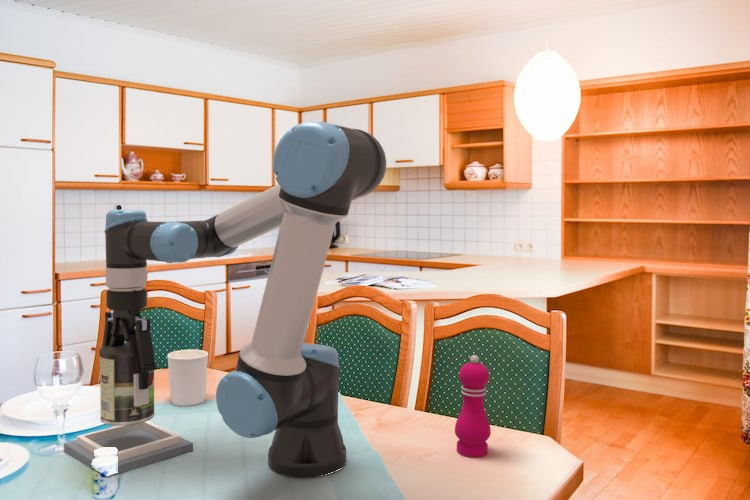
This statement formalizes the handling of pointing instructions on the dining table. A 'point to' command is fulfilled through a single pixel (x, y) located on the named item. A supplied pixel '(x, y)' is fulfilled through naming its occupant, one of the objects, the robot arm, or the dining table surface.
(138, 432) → the grey square tray
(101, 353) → the coffee can
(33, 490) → the dining table surface
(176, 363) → the candle holder
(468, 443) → the pepper mill
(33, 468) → the dining table surface
